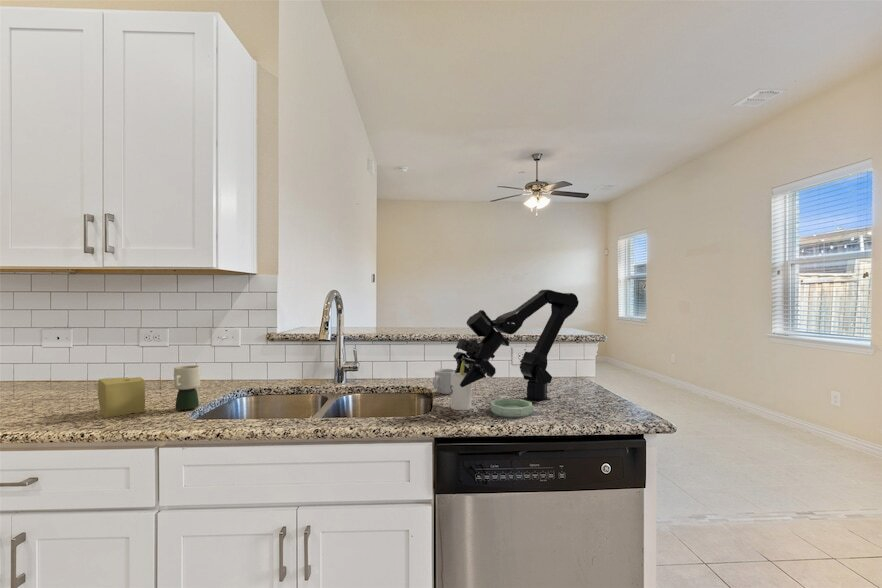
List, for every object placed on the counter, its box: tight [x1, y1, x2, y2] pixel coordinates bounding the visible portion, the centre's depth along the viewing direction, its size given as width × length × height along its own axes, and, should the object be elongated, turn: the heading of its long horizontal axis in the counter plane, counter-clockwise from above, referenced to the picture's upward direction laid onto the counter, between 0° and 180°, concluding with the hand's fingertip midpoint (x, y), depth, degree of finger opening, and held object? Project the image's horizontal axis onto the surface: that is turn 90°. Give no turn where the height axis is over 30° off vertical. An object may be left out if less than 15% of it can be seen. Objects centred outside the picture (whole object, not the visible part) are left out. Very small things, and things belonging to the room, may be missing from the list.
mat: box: [480, 408, 544, 422], centre depth 132 cm, size 13×13×1 cm
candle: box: [449, 360, 472, 411], centre depth 137 cm, size 6×6×15 cm
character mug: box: [173, 364, 201, 411], centre depth 136 cm, size 11×7×13 cm, turn 176°
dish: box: [490, 398, 534, 418], centre depth 132 cm, size 12×12×2 cm
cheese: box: [97, 376, 146, 419], centre depth 133 cm, size 10×11×10 cm
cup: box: [432, 368, 456, 395], centre depth 158 cm, size 11×8×8 cm
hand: (456, 384), depth 136 cm, fingers closed on candle, 6 cm apart
